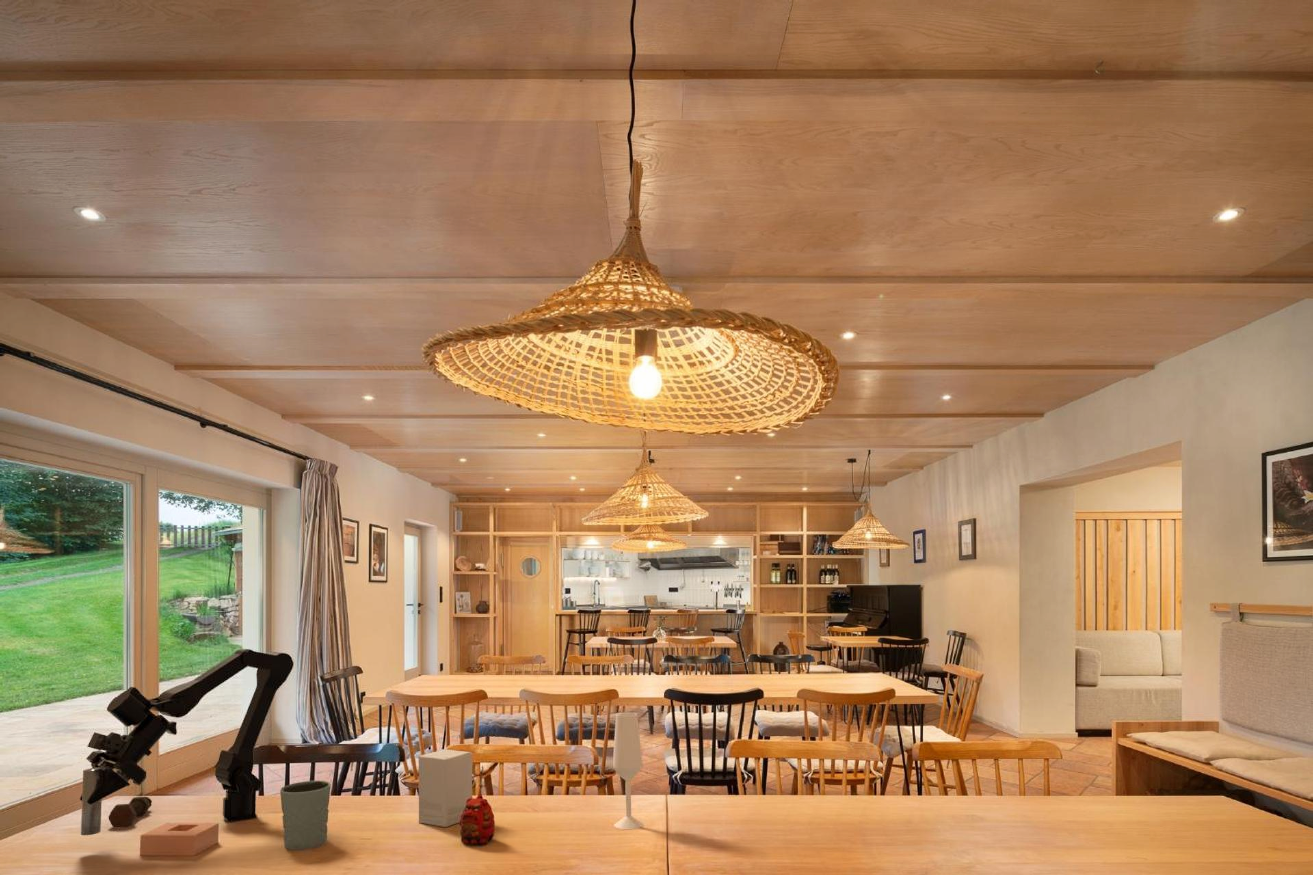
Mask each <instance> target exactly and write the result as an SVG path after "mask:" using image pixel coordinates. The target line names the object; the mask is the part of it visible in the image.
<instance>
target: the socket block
mask: <svg viewBox="0 0 1313 875" xmlns="http://www.w3.org/2000/svg"><path fill="white" fill-rule="evenodd" d="M219 824H220V823H218V822H216V823H215V822H211V823H209V822H208V823H207V822H165V823H164V824H162V825H160V826H157V827H156V828H154V829H151V830H149V831H147V832H145V833H142V834H140V839H139V840H140V844H139V845H140V846H139V856H178V857H180V856H182V857H183V856H196V855H198V854H201V853H202V852H203V851H205V850H208V849H209V848H210V847H213V846H214V845H216V844H218V843H219V833H220V832H219V826H220V825H219Z"/></svg>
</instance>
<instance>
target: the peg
mask: <svg viewBox="0 0 1313 875" xmlns="http://www.w3.org/2000/svg"><path fill="white" fill-rule="evenodd" d="M102 775H103V768H92V767H91V768H86V769H83V771H82V791H81V792H82V793H81V795H82V801H81V818H80V820H81V821H80V823H81V824H80V826H81V827H80V835H82V836H92V835H96V834H99V833H101V829H102V828H101V827H102V825H101V824H102V823H101V822H102V801H103V798H102V799H101V800H99V801H97V802H95V803H93V804H91V805H90V804H89V803H87V800H88V799H89V797H90V796H91V794H92V793H93V792H94V790H95V789H96V788H97V786H98V785H99V783H100V782H101V781H102Z"/></svg>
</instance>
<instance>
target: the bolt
mask: <svg viewBox="0 0 1313 875" xmlns="http://www.w3.org/2000/svg"><path fill="white" fill-rule="evenodd" d="M152 801H153V800H152V799H151V798H150V797H148V796H136V797H133V798H132V799H131V800H130V801H129V803H124V804H123V803H121V804H116V805H115V806H114V807H113V809H112V810H111V812H110V813H109V815H108V817H107V818H108V820H109V823H110V824H111V826H112V828H114V827H116V828H117V827H121V828H128V827H130V826H131V825H132V823H133V822H134V820H135V818H136V817H143V816H145V815H146V813H148V811H149V810H150V808H151V807H152V805H153V804H152V803H153V802H152ZM117 829H118V828H117Z"/></svg>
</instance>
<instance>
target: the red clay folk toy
mask: <svg viewBox="0 0 1313 875" xmlns="http://www.w3.org/2000/svg"><path fill="white" fill-rule="evenodd" d="M483 773H484V766H483V765H482V766H481V770H480V771H479V773H477V772H473V778H476V777H479V786H478V787H479V791H478V794H477V796H476V797H474V798H473V797H472V798H469V799H467V802H466V807H465V808H464V810H463V813H462V815H461V819H460V822H459V825H460V830H459V831H460V841H461V843H463V844H471V845H473V846H481V845H482V846H484V845H487V843H489V842H491V841H492V839H493V838H494V836H495V826H496V825H495V824H496V822H495V814H494V813H493V809H492V807H491V805H490V803H489V802H488V799H486V798H484V797H483V794H482V788H483V783H482V782H483Z"/></svg>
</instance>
